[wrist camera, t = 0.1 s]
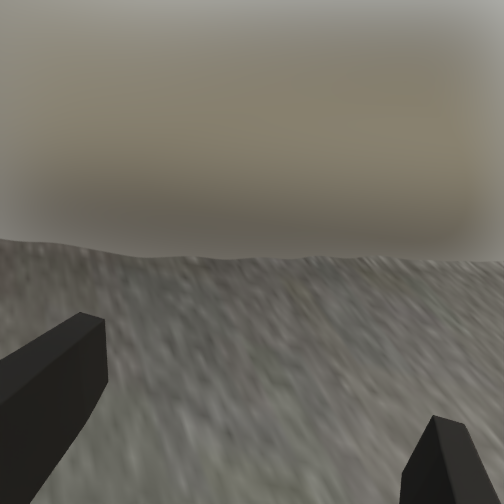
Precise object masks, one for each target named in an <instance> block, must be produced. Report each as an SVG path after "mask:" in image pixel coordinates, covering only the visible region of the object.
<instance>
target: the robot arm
mask: <svg viewBox="0 0 504 504" xmlns="http://www.w3.org/2000/svg"><path fill="white" fill-rule="evenodd" d="M107 383H108V367H107V350H106V333H105V319H102V318H99V317H95V316H92V315H89V314H85V313H82V312H79V313H78V314H76V315H74V316H73V317H71V318H69V319H67V320H66V321H64V322H62V323H61V324H59V325H57V326H56V327H54V328H53V329H51V330H49V331H48V332H46V333H44V334H43V335H41V336H40V337H38V338H36V339H35V340H33V341H31V342H30V343H28V344H26V345H25V346H23V347H21V348H20V349H18V350H17V351H15V352H13V353H11V354H10V355H8V356H6V357H5V358H3V359H1V360H0V504H30V502H31V501H32V499H33V498H34V497H35V495H36V494H37V492H38V491H39V490H40V488H41V487H42V485H43V484H44V482H45V481H46V480H47V478H48V477H49V475H50V474H51V473H52V471H53V470H54V468H55V467H56V465H57V464H58V463H59V461H60V460H61V458H62V457H63V455H64V454H65V453H66V451H67V450H68V448H69V447H70V445H71V444H72V443H73V441H74V440H75V438H76V437H77V435H78V434H79V432H80V431H81V430H82V428H83V427H84V425H85V424H86V422H87V420H88V419H89V417H90V415H91V413H92V411H93V410H94V408H95V406H96V404H97V402H98V400H99V398H100V397H101V395H102V393H103V391H104V389H105V387H106V385H107ZM399 504H501V503H500V500H499V498H498V496H497V494H496V492H495V490H494V488H493V485H492V483H491V481H490V479H489V477H488V475H487V473H486V470H485V468H484V466H483V464H482V461H481V459H480V457H479V455H478V452H477V450H476V448H475V446H474V443H473V441H472V439H471V437H470V434H469V432H468V430H467V428H466V426H465V425H464V424H462V423H459V422H455V421H452V420H448V419H445V418H442V417H438V416H435V415H433V416H432V418H431V419H430V421H429V423H428V425H427V427H426V429H425V431H424V433H423V434H422V436H421V438H420V440H419V442H418V444H417V446H416V448H415V450H414V451H413V453H412V455H411V457H410V459H409V461H408V463H407V465H406V466H405V468H404V470H403V472H402V478H401V490H400V502H399Z"/></svg>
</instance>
